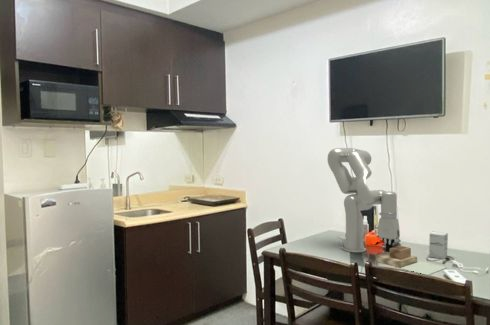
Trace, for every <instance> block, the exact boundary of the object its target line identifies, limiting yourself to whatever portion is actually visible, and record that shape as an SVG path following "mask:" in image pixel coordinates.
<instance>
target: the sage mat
mask: <svg viewBox="0 0 490 325" xmlns="http://www.w3.org/2000/svg"><path fill="white" fill-rule="evenodd" d="M399 269H400V270H402V269H403V271H406V270H408V271H407V272H410V271H414V272H418V273H422V274H427V275H428V276H431V275H432V274H435V273H438V272H441V271H444V270H446V269H447V267H446V266H442V265H437V264H432V263H429V262H424V261H417V263H414V264H411V265H408V266H405V267H402V268H400V267H399ZM443 269H444V270H443ZM414 272H413V273H414ZM418 273H417V274H418ZM422 274H421V275H422Z"/></svg>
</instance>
